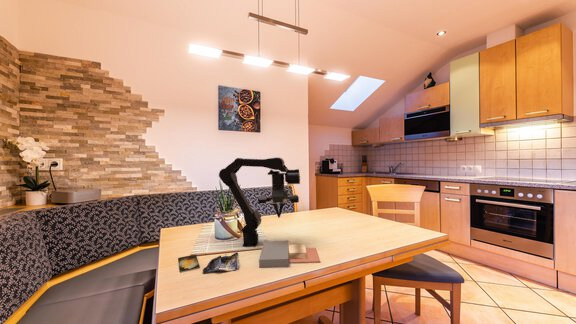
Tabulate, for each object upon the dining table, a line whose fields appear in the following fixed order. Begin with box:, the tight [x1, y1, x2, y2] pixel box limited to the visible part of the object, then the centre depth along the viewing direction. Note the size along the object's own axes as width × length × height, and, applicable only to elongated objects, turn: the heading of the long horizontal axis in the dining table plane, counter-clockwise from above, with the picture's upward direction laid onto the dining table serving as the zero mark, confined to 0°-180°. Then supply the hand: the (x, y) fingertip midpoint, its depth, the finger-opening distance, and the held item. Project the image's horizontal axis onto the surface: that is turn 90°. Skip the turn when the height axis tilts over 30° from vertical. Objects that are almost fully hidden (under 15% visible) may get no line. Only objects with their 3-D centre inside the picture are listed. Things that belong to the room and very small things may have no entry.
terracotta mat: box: [288, 247, 321, 264], centre depth 99 cm, size 12×14×1 cm
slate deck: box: [258, 240, 290, 269], centre depth 99 cm, size 11×20×3 cm, turn 0°
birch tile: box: [288, 244, 307, 259], centre depth 99 cm, size 7×9×2 cm
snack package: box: [202, 252, 240, 274], centre depth 89 cm, size 12×7×12 cm
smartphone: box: [177, 254, 201, 274], centre depth 94 cm, size 7×1×15 cm
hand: (279, 217), depth 111 cm, fingers closed
